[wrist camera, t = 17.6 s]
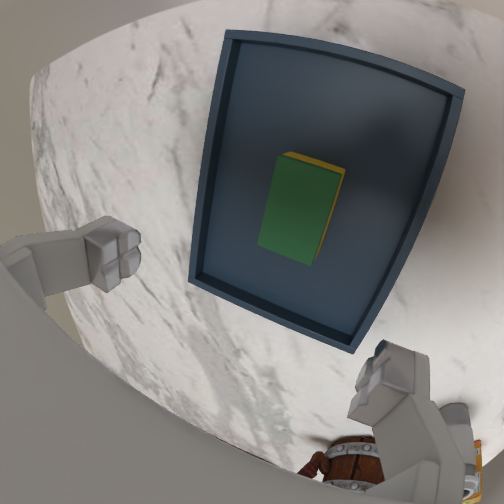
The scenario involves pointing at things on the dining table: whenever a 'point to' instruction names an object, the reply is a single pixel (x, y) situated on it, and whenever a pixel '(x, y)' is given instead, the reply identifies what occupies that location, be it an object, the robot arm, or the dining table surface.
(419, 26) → the dining table surface
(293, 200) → the sponge
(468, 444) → the cup
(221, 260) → the tray
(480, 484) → the supplement box
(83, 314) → the dining table surface
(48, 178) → the dining table surface
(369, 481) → the mug
